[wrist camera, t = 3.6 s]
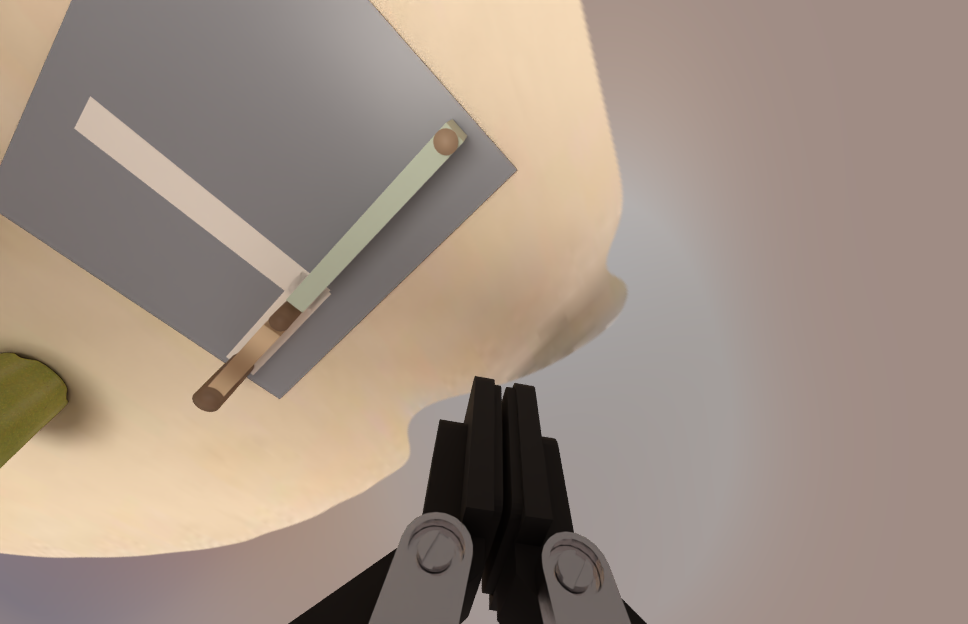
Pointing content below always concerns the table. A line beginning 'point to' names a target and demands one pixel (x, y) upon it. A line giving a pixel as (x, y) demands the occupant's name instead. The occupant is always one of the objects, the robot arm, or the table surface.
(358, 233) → the bar
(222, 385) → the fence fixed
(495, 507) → the robot arm
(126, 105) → the card
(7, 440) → the plant pot
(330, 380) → the table surface
